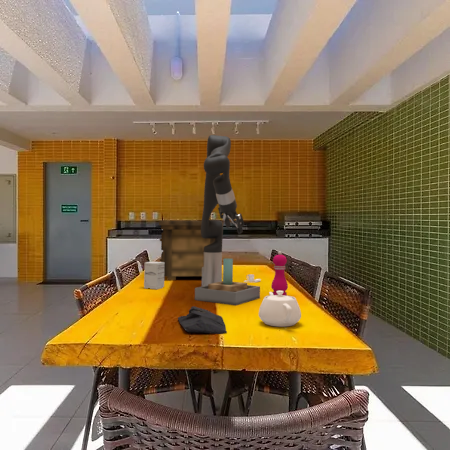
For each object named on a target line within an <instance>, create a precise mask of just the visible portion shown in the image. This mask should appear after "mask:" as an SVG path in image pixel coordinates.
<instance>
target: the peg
mask: <svg viewBox="0 0 450 450" xmlns="http://www.w3.org/2000/svg"><path fill="white" fill-rule="evenodd" d="M233 263H234V258H222V281H223V284H224V285H232V283H233V282H234V280H233V278H234V275H233V273H234V272H233V270H234V269H233V268H234V267H233V266H234V265H233Z"/></svg>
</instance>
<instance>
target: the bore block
mask: <svg viewBox="0 0 450 450" xmlns="http://www.w3.org/2000/svg"><path fill="white" fill-rule="evenodd" d="M247 285H248V282H238V281H237V282H236V281H233V283H232V285H224V284H223V280H222V281H221V282H216V283H211V284H208V289H212V290H221V291H230V292H237V291H241V290H245V289H247Z"/></svg>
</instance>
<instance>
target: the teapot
mask: <svg viewBox="0 0 450 450" xmlns="http://www.w3.org/2000/svg"><path fill="white" fill-rule="evenodd" d="M272 292H273V291H269V292H268V293H269V294H268V295H266V296H264V297H263V300H262V302H261V304H260V306H259V309H258V317H259V319H260V320H261V321H262V322H263V323H264V324H265V325H267V326H272V327H278V328H279V327H291V326H292V327H293V326H295V325H296V324H297V323H298V322H300V320H301V318H302V312H301V311H302V310H301V308H300V305H299V303H298V301H297V298H296V297H295V296H291V295H287V296H285V295H282V294H283V293H284V291H276V292H277V294H278V295H273V293H272Z"/></svg>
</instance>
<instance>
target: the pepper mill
mask: <svg viewBox="0 0 450 450" xmlns="http://www.w3.org/2000/svg"><path fill="white" fill-rule="evenodd" d="M287 262H288V260H287V257H286V256H285V255H284V254H283V253H282V251H281V250H279V251H278V252H277V254H276V255H275V256H273V259H272V263H273V264H274V266H273V269H274V278H273V279H272V281H271V286H270V287H271V290H273V291H271V292H272V293H273V295H278V294H277V292H276V291H284V293H283V294H282V295H285V296H288V295H287V294H288V292H287V290H288V288H289V286H288V282H287V279H286V276H285V270H286V264H287Z"/></svg>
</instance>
